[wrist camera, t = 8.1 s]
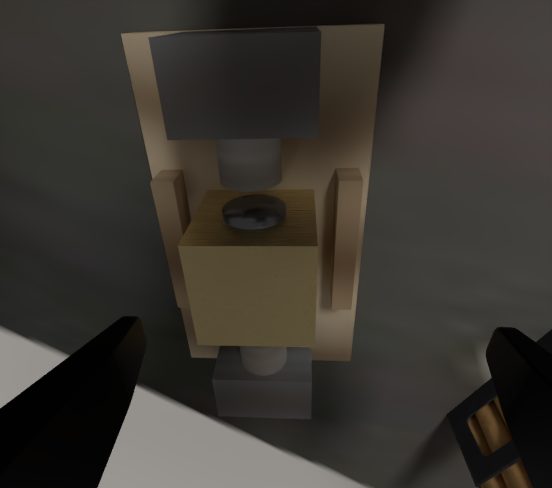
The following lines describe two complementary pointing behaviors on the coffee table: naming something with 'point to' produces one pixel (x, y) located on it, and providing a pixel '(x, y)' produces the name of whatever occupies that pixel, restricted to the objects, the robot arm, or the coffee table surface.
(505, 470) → the ammunition clip
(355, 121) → the shaft stand
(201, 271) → the block
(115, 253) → the coffee table surface
